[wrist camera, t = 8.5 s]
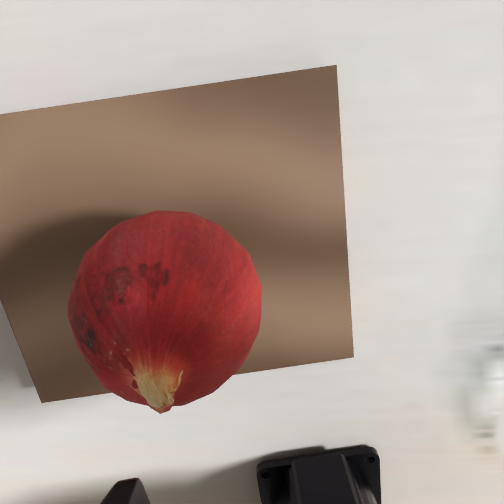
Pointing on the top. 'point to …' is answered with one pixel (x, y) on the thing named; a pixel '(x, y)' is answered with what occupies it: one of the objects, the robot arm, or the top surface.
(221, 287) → the onion
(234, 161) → the walnut board
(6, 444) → the top surface
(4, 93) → the top surface
